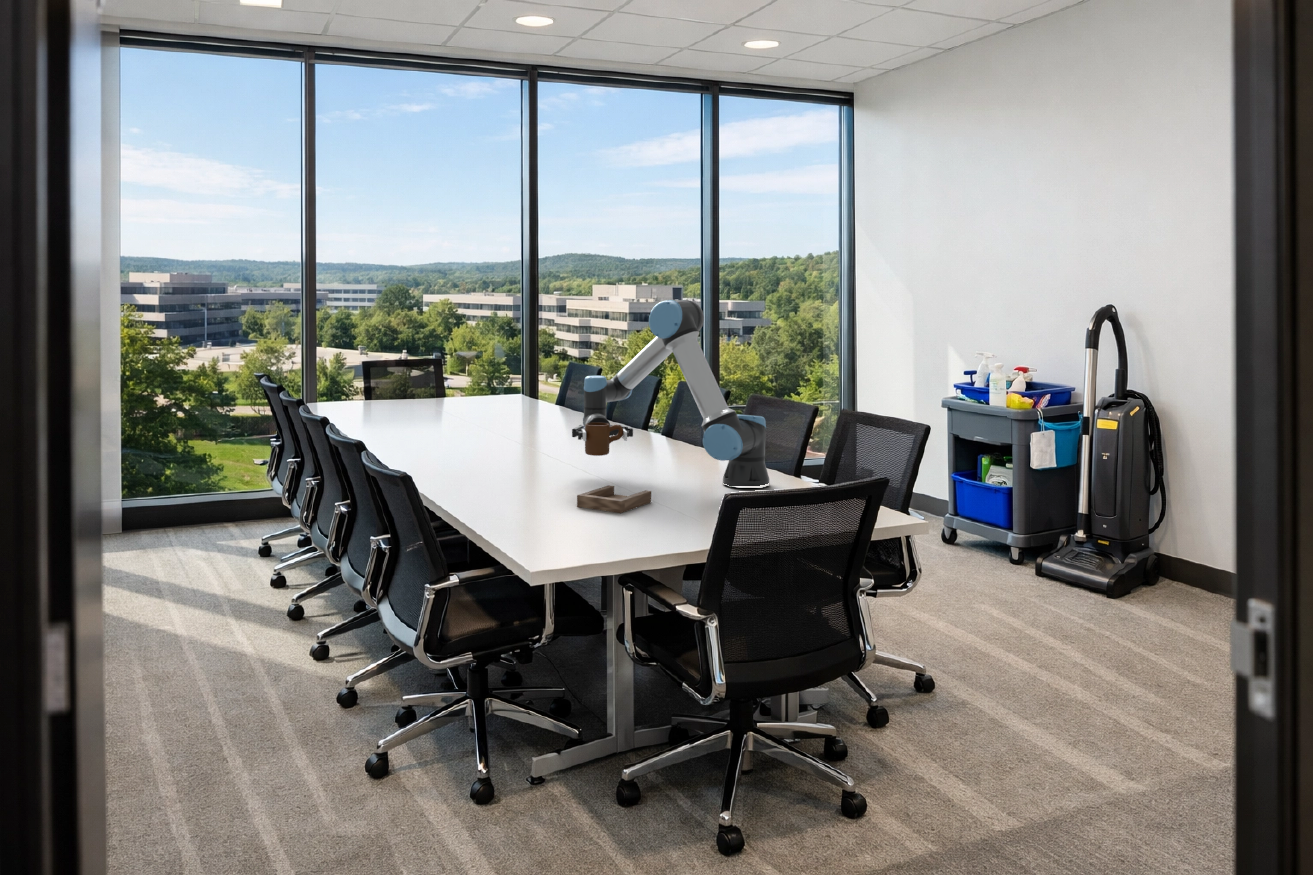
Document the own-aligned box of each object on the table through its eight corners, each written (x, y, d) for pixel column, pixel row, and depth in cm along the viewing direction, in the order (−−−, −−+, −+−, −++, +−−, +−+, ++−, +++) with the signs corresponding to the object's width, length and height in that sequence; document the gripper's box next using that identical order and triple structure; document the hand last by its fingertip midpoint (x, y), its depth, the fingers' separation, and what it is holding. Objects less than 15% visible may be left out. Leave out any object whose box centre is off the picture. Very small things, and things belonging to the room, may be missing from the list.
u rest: (651, 502, 299) (651, 490, 298) (620, 513, 284) (621, 501, 284) (608, 496, 306) (608, 485, 306) (577, 506, 291) (577, 495, 291)
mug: (621, 451, 317) (621, 421, 315) (625, 455, 310) (625, 425, 308) (583, 452, 315) (583, 422, 313) (586, 456, 307) (586, 425, 306)
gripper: (634, 437, 331) (644, 448, 310) (561, 438, 327) (566, 449, 306) (634, 414, 330) (644, 424, 309) (561, 415, 326) (566, 424, 305)
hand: (605, 436), depth 308 cm, fingers closed on mug, 12 cm apart
